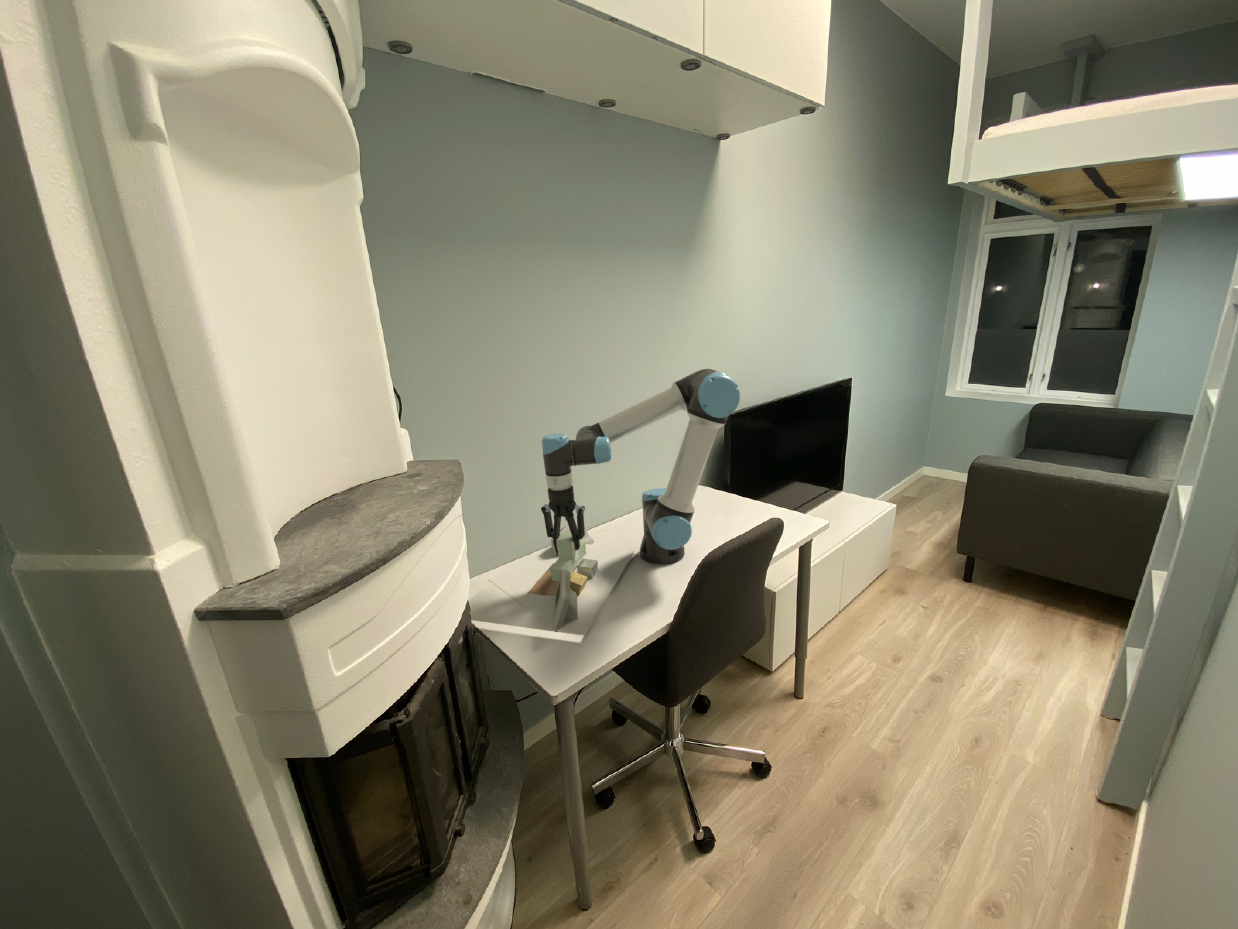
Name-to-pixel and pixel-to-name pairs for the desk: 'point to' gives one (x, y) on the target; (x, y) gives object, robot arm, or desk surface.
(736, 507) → the desk surface
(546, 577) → the deck
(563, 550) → the stepped sage beam
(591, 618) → the desk surface
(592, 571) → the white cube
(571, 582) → the mustard yellow cube
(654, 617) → the desk surface
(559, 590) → the grey picture frame
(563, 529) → the white curved block
